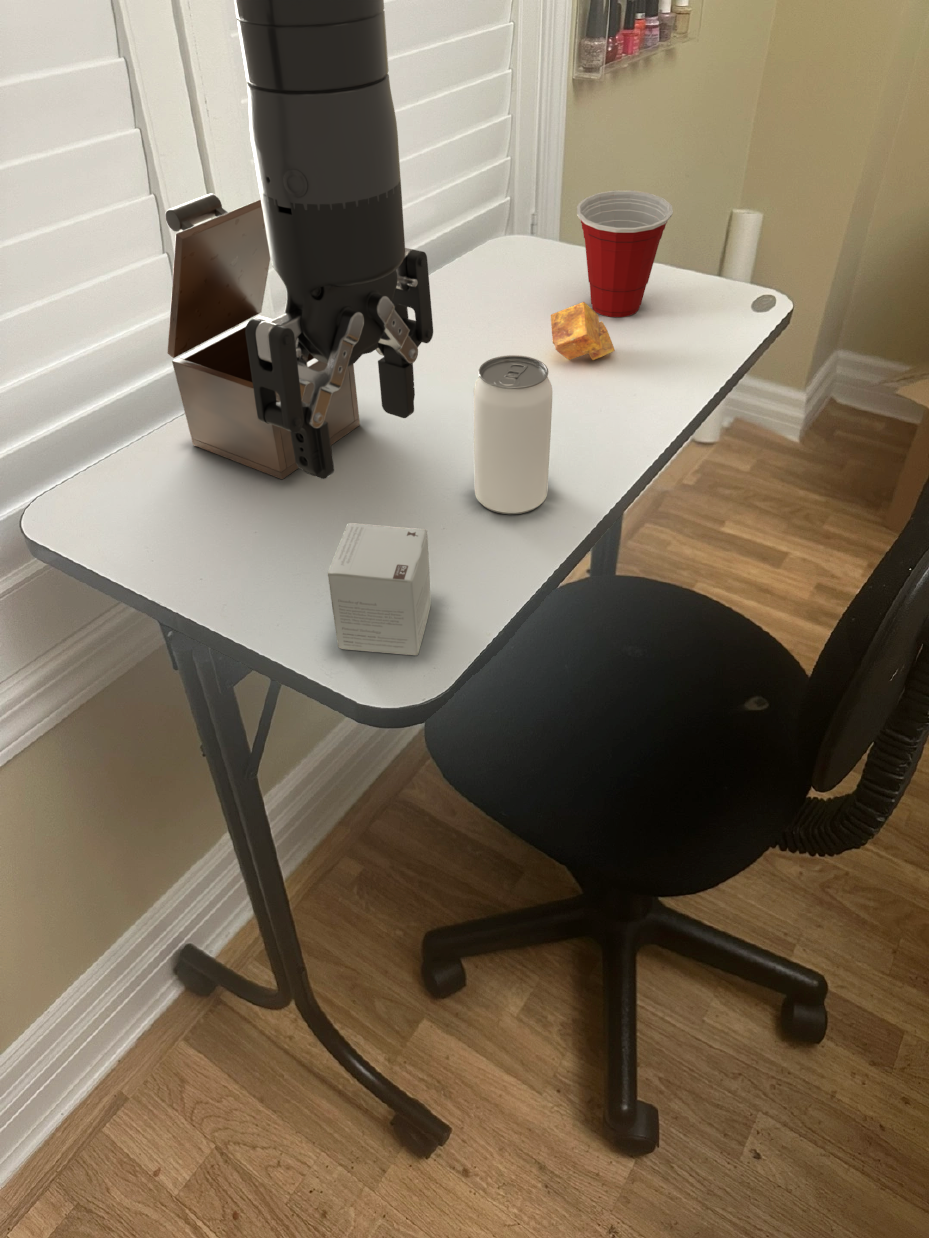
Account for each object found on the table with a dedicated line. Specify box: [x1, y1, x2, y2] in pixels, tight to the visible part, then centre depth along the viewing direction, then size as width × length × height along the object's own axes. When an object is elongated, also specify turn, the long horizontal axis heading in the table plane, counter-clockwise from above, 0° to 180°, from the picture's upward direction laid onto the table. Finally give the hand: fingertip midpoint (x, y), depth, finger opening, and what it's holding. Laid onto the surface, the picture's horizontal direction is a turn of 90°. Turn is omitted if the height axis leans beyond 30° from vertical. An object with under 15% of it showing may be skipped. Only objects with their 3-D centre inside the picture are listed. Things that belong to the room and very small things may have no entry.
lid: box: [164, 193, 271, 359], centre depth 81 cm, size 12×12×5 cm
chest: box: [171, 314, 361, 480], centre depth 86 cm, size 12×12×9 cm
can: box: [473, 354, 553, 515], centre depth 77 cm, size 6×6×12 cm
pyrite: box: [550, 301, 616, 361], centre depth 99 cm, size 5×7×4 cm
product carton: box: [327, 522, 432, 656], centre depth 65 cm, size 6×6×7 cm
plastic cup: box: [576, 189, 674, 318], centre depth 106 cm, size 11×11×12 cm
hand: (359, 442), depth 59 cm, fingers open, 8 cm apart
